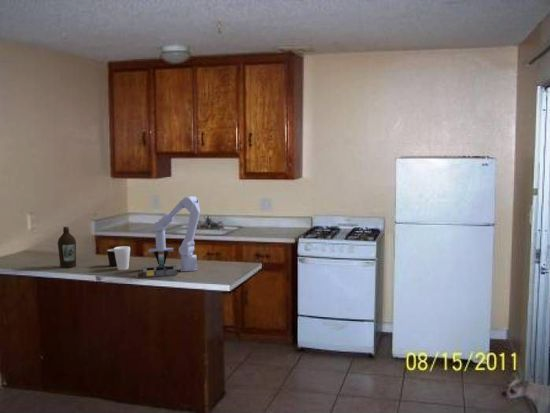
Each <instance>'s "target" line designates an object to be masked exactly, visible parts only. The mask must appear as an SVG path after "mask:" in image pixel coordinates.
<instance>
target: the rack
mask: <svg viewBox="0 0 550 413" xmlns="http://www.w3.org/2000/svg"><path fill="white" fill-rule="evenodd" d="M142 268H143V270H142V278H152V277H153V278H154V277H155V278H156V277H171V276H170V275H172V276H178V267H177V265H176V264H175V265H164V266H159V265H158V266H144V267H142Z"/></svg>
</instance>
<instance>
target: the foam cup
mask: <svg viewBox="0 0 550 413" xmlns="http://www.w3.org/2000/svg"><path fill="white" fill-rule="evenodd" d="M113 249H114V252H115V258H116V263H117V267H116V269H117V270H118V271H127V270H128V269H129V267H130V266H129V264H130V256H131V246H127V245H126V246H123V245H122V246H115V247H114V248H113Z"/></svg>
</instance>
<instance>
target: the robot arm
mask: <svg viewBox="0 0 550 413" xmlns="http://www.w3.org/2000/svg"><path fill="white" fill-rule="evenodd" d="M184 208H185V210H187V211H188V212H189V214H190V216H189V220H188V223H187V228H186V232H185V236H184V239H183V241H182V242H181V245H180V246H179V247H178V253H179V255H180V272H191V271H195V272H196V271H197V270H198V261H197V260H198V259H197V254H194V251H195V244H196V243H195V236H196V232H197V228H198V224H199V220H200V216H201V208H200V200H199V198H198V197H197V196H195V195H191V196H184V197H182V199H181V200H180V201H179V202H178V203H177V204H176V205H175V207H173V208H172V210H170V212H166V213H164V214H163V216H162V217H160V218H159V219H158V221H156V222H154V224H153V230H154V231H155V248H149V249H148V253H153V255H154V257H155V258H156V261H157V265H159V253H163V254H164V265H165V264H166V260H167V258H168V255H169V252H174V247H167V246H166V244H167V243H166V230H167V228H168V226H169V225H170V224H171V223H172V222H173V221H174V220H175V217H176V215H177V214H178V213H180V212H181V211H182V210H183V209H184Z"/></svg>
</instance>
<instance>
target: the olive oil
mask: <svg viewBox="0 0 550 413" xmlns="http://www.w3.org/2000/svg"><path fill="white" fill-rule="evenodd" d="M62 230H63V231H62V232H63V233H62V234H61V236H60V237H59V238H58V241H57V249H58V256H59V257H58V258H59V259H58V260H59V267H60V268H61V269H72V268H75V267H77V240H76V238H75V236H74V235H72V234H71V233H70V228H69V226H63V229H62Z"/></svg>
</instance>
